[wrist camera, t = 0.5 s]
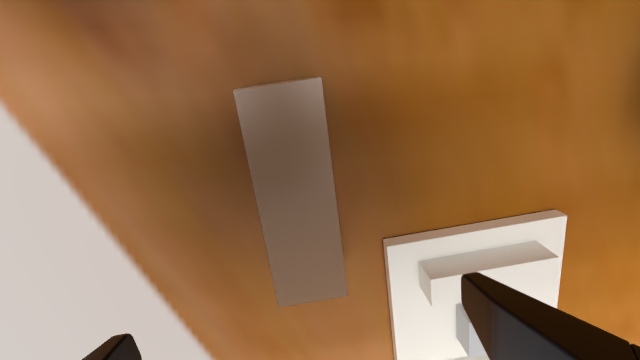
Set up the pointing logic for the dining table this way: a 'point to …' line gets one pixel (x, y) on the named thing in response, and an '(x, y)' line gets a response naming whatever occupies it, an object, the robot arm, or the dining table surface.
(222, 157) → the dining table surface
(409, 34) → the dining table surface
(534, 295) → the display rest
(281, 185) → the gray cuboid brick
